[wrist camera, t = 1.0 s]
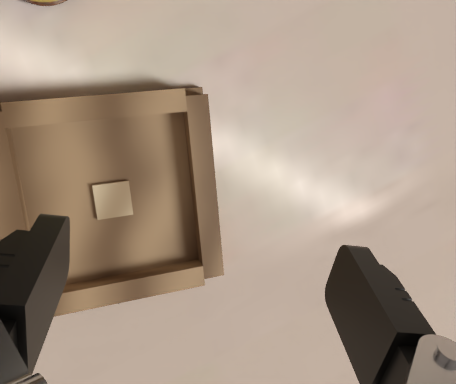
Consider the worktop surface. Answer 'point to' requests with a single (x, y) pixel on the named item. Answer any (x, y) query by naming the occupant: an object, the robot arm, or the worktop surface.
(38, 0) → the sauce bottle
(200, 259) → the dock
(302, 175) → the worktop surface
